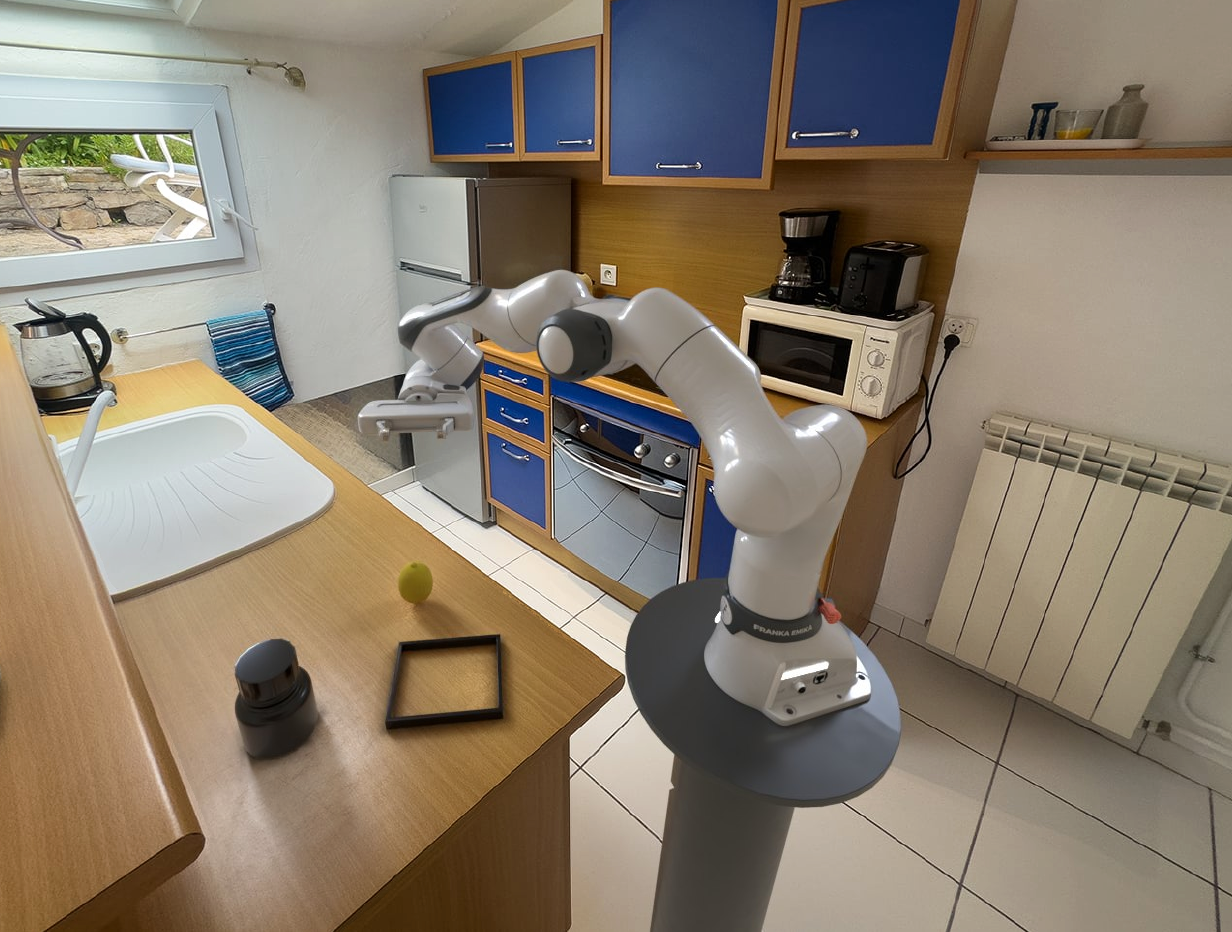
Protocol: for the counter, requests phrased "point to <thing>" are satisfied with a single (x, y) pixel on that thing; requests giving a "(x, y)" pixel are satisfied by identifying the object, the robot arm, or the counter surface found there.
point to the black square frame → (447, 716)
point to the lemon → (415, 582)
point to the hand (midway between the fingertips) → (413, 436)
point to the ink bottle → (273, 700)
